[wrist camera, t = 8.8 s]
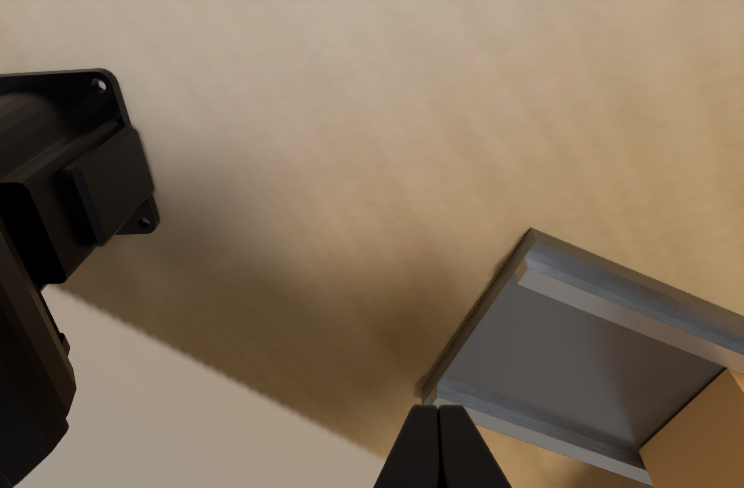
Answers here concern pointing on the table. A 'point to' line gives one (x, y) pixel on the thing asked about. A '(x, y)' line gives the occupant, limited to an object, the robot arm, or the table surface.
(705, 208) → the table surface
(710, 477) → the orange padlock
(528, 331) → the grey stand with block
